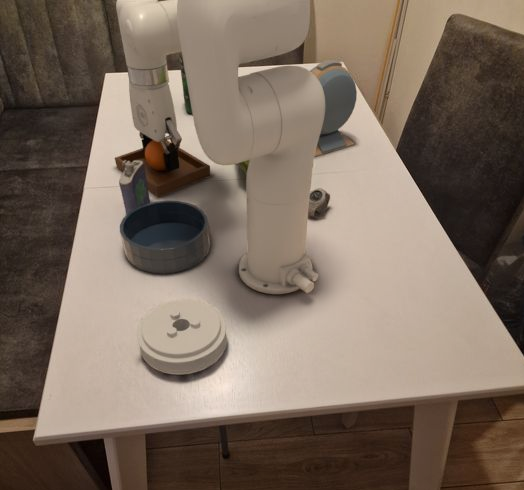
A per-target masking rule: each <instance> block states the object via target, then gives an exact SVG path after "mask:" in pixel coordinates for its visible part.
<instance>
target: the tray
mask: <svg viewBox="0 0 524 490" xmlns="http://www.w3.org/2000/svg"><path fill="white" fill-rule="evenodd" d="M166 141H167V142H169V143H171V141H169V140H166ZM178 159H179V168H178V169H175V170H173V171H170V172H167V171H166V170H164V171H158V170H155V169H153V168H152V167H150V166H149V164H148V163H147V161H146V158H145V156H144V151H143V147H142V148H139V149H136V150H133V151H130V152H128V153H125V154H122V155H119V156H116V157H114V161H115V166H116V169H118V170H119V171H121V172H122V173H123V171H124V170H125V167H126V166H125V163H126V162H127V161H130V162H131V163H132V162H133V161H135V160H141V161H143V162H144V167H145V173H146V179H147V185H148V192H150V193H151V194H153V195H154V196H155V197H157V198H161V197H163V196H166V195H168V194H170V193H173V192H175V191H178V190H180V189H182V188H185V187H187V186H191V185H192V184H195V183H198V182H199V181H202V180H205V179H207V178H209V177H211V176H212V175H211V166H210V165H209V164H208V163H206V162H205V161H203V160H201V159H200V158H198V157H196V156H194V155H193V154H191V153H189V152H188V151H186V150H184V149H183V148H181V147H179V150H178ZM125 160H126V162H125V163H122V162H123V161H125ZM122 164H123V165H122Z"/></svg>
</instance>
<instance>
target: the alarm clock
mask: <svg viewBox="0 0 524 490" xmlns="http://www.w3.org/2000/svg"><path fill="white" fill-rule="evenodd" d="M342 64H343V63H342V62H340V61H338V60H335V59H327V60H323V61H321V62H320V63H318V64H317V65H316V66H315V67H313V68H312V69H309V71H311V72H312V73H313V74H314V75H315V76H316V77H317V78H318V80H319V82H320V83H321V85H322V88H323V91H324V96H325V116H324V121H323V126H322V129H321V133H320V136H319V140H318V143H317V147H316V151H315V156H314V158H315V157H319V156H322V155H325V154H329V153H332V152H335V151H338V150H341V149H345V148H348V147H352V146H355V142H353V141H352V140H350V138H348V137H346V136H345V135H343V134H342V132H341V131H340V130H339V129H341V128H342V127H343V126H344V125H345V124H346V123H347V122H348V121H349V119H350V118H351V116H352V114H353V112H354V109H355V107H356V102H357V96H358V94H357V85H356V82H355V80H354V78H353V76H352V75H351V73H350V71H349V70H348V69H347V68H346V67H344V66H343V65H342Z"/></svg>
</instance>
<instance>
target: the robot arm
mask: <svg viewBox="0 0 524 490" xmlns="http://www.w3.org/2000/svg"><path fill="white" fill-rule="evenodd" d="M115 8H116V9H115V10H116V16H117V20H118V26H119V32H120V36H121V37H120V38H121V42H122V47H123V53H124V58H125V64H126V70H127V76H128V92H129V93H128V94H129V102H130V109H131V117H132V124H133V126H134V128H135V130H136V131H138V132H139V138H140V139H141V146H142V148H143V151H144V156H145V149H146V146H147V145H148V144H149V142H151V141H152V140H154V141H156V142H161V144H162V146H163V149H164V151H165V153H163V156H164V163H165V169H166V171H167V172H170V171H173V170H175V169H178V168H179V159H178V150H179V148H181V143H182V140H183V137H182V135H181V134H180V132H179V131H178V125H177V117H176V111H175V106H174V105H175V104H174V101H173V97H172V92H171V88H170V85H169V83H170V77H169V76H170V75H169V70H168V62H167V56H169V55H173V54H177V53H178V54H179V52H182V57H183V62H184V68H185V74H186V79H187V85H188V91H189V96H190V102H191V108H192V113H191V114H192V118H193V123H194V128H195V132H196V133H195V134H196V136H197V139H198V142H199V145H200V147H201V149H202V151H203V153H204V154H205V156H206V157H207V158H208V159H209V160H210V161H211V162H213V163H214V164H216V165H219V166H231V165H236V164H239V163H240V162H243V161H247V160H250V162H249V165H248V170H247V174H246V182H245V183H246V184H245V186H246V189H245V190H246V192H245V193H246V194H245V195H246V196H245V197H246V236H247V237H246V240H247V242H246V243H247V252H246V253H245V254H244V255H242V257H241V258H240V259H239V260H240V261H239V262H238V263H239V264H238V275H239V277H240V279H241V280H242V282H243V283H244V284H245V285H246V286H248V287H249V288H250V289H252V290H255V291H257V292H259V293H263V294H269V295H285V294H290V293H293V292H296V291H298V290H301V291H303V292H305V293H306V294H309V293H311V292H312V290H313V289H314V287H315V283H314V282H316V281H317V280H318V278H319V274H318V273H317V272H315V270H313V269H314V268H313V263H312V261H311V259H310V256H309V255H308V254H306V243H307V230H308V220H309V215H308V209H309V197H310V192H311V187H312V177H313V168H314V159H315V157H314V156H315V151H316V147H317V143H318V140H319V136H320V133H321V129H322V126H323V121H324V116H325V96H324V91H323V88H322V85H321V83H320V82H319V80H318V78H317V77H316V76H315V75H314V74H313V73H312V72H311V71H310V69H308V68H305V67H302V66H300V65H282V66H276V67H271V68H268V69H263V70H259V71H255V72H250V73H249V74H244V75H241V76H239V67H240V65H242V64H247V63H251V62H256V61H260V60H264V59H269V58H273V57H277V56H281V55H284V54H288V53H290V52H293V51H294V50H296V49H297V48H299V47H300V46H301V45H303V44H304V42H305V40H306V39H307V37H308V33H309V29H310V24H311V23H310V21H311V0H116V2H115ZM166 134H168V135H167V136H166ZM166 140H168V141H169V140H170V142H171V143H170V144H169V146H168V145H167V143H166Z"/></svg>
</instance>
